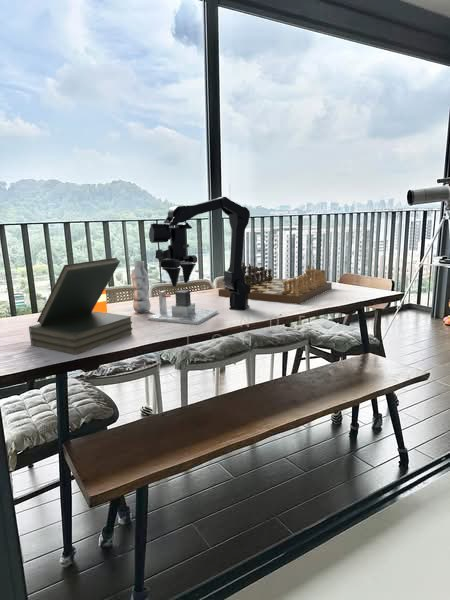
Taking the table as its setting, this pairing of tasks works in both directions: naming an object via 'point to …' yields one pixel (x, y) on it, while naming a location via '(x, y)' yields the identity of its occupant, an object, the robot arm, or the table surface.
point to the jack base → (180, 312)
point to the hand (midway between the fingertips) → (180, 284)
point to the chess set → (282, 285)
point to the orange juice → (101, 303)
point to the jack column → (183, 298)
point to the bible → (79, 311)
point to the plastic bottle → (140, 288)
